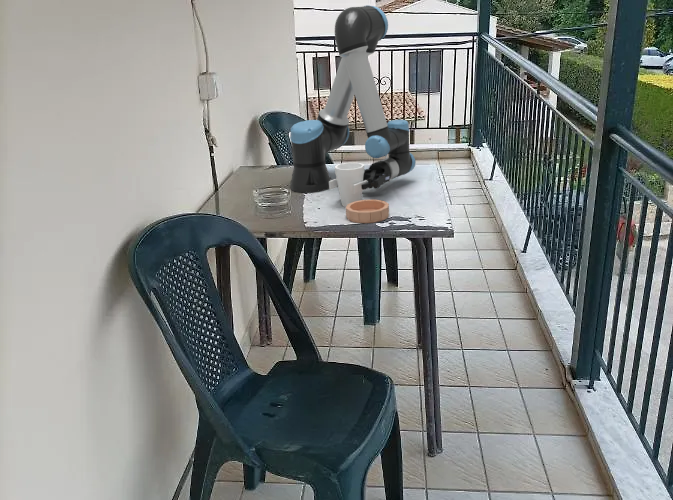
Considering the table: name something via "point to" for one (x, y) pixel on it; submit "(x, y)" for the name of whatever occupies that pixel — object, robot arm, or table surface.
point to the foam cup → (349, 181)
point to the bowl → (367, 211)
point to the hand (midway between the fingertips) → (341, 187)
